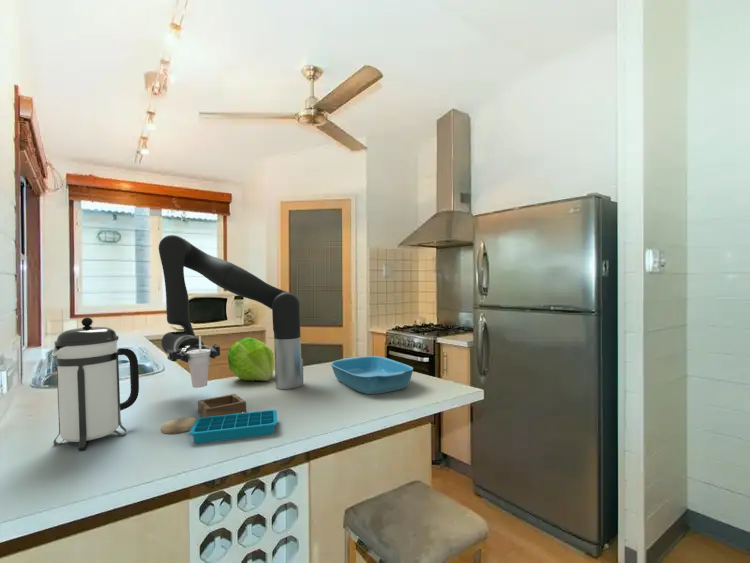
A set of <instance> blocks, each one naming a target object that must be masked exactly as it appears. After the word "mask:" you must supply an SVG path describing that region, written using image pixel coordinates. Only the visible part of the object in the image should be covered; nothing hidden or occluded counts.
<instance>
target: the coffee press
mask: <svg viewBox="0 0 750 563" xmlns="http://www.w3.org/2000/svg"><path fill="white" fill-rule="evenodd" d="M93 322H94V321H93V319H92V318H91V317H83V319H82V320H81V321H80V323H81V325H82V326H83V327H80V328H73V329H68V330H65V331H63V332H61V333H60V334H59V335H58V336H57V338H56V340H55V341H54V347H53V349H52V352H51V356H52V357H55V356H56V357H55V365H56V380H57V381H56V382H57V407H58V408H57V411H58V433H57V434H58V435H57V436H56V437H55V438H54V440H53V445H54V446H59V445H61V444H63V442H64V441H65V442H70V443H72V442H74V443H75V442H76V443H78V446H77V448H78V451H79V452H80V451H85V450H87V448H88V444H89V442H90V441H92V440H96V439H100V438H104V437H105V436H106V437H107V436H108V435H110V434H112V433H113V434H117V435H118V436H121V437H123V436H125V435H126V434H127V430H128V429H127V428H125V427H124V426H123V424H122V420H121V418H122V417H121V411H123V410H126V409H127V408H130V407H131V406H133V405H134V404H135V402H136V400H138V396H139V392H140V378H139V374H140V373H139V361H138V357H137V355H136V353H135V352H134V350H131V349H130V348H125V347H123V348H118V341H119V335H117V333H116V331H115V330H114V329H113V328H109V327H105V326H92V324H93ZM119 356H125V357H126V358H128V361H129V373H130V374H129V376H130V378H129V379H130V381H129V382H130V394H129V396H128V398H127V399H126V400H125V401H123V402H121V395H120V366H119V365H120V364H119ZM119 427H120V428H121V429H122V431H124V432H123V433H122V432H120V431H118V429H119ZM59 437H60V438H62V441H60V442H58V441H57V439H58V438H59Z"/></svg>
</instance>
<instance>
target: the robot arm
mask: <svg viewBox="0 0 750 563" xmlns="http://www.w3.org/2000/svg"><path fill="white" fill-rule="evenodd" d="M158 253H159V257H160V258H159V259H160V261H161V267H162V272H163V278H164V289H165V303H166V304H165V306H166V307H165V308H166V321H167V324H170V325H174V326H175V325H176V326H181V327H182V329H183V330H182V331H181V330H180V331H169V332H166V333H165V334H164V335H162V338H161V342H160V343H161V344H160V345H161V348H162V350H163V351H164V352H165V353H166V355H167V356H166V358H167V359H168V360H169V361H170V362H176V361H178V360H179V361H180V362H184V363H186V364H189V363H188V354H187V353H186V352H188V351H191V350H197V349H199V337H198V338H197V337H196V335H195V331H194V329H193V326H192V323H191V317H190V301H189V299H190V298H189V294H188V289H187V286H186V280H185V273H184V270H185V269H184V268H187V269H189V270H191V271H194V272H196V273H198V274H200V275H202V277H204V278H206V279H207V280H209V282H211V283H213V284H215V285H216V286H218V287H219V288H222V289H223V290H225V291H227V292H230V293H231V294H235V295H237V296H239V297H241V298H244V299H245V298H246V299H248V300H252V301H254V302H257V303H260V304H261V305H264V306H266V307H267V308H269V309H270V310H272V311H271V313H272V331H273V341H274V342H273V344H274V345H273V346H274V348H273V349H274V372H275V373H274V376H275V388H276V389H281V390H290V389H291V390H292V389H296V388H300V387H303V386H305V384H304V381H305V380H304V358H302V343H301V342H302V340H301V337H302V336H301V324H300V322H301V321H300V319H301V318H300V307H301V302H300V300H299V298H298V296H296V294H294V293H292V292H289V291H286V290H284V289H281V288H277V287H276V286H273V285H271V284H269V283H268V282H266V281H264V280H262V279H261V278H259V277H257V275H254V274H253V273H251V272H249V271H248V270H246V269H244V268H242V267H240V266H239V265H236V264H234V263H232V262H230V261H227V260H225V259H222V258H219V257H216V256H213V255H210V254H209V253H206V252H204V251H203V250H201V249H199V248H198V247H196V246H195V245H194V244H192V243H190V242H189V241H188V240H186V239H185V238H183V237H181V236H179V235H175V234H169V235H166V236H164V237H163V238H162V239H161V240H160V242H159V243H158ZM201 349H210V350H211V354H210V358H211V359H216V357H220V356H221V347H220V345H219V344H216V343H214V344H213V345H211V347H210V346H209V345H205V344H204V342H203V341H202V340H201Z"/></svg>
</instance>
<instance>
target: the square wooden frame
mask: <svg viewBox="0 0 750 563" xmlns="http://www.w3.org/2000/svg"><path fill="white" fill-rule="evenodd" d="M197 411H198V413H200V415H201V416H202V417H209V416H219V415H228V414H237V413H242V412H245V413H247V401H246V400H245V399H243V398H241V397H240V396H239V395H238V394H236V393H232V394H226V395H221V396H215V397H209V398H205V399H200V400H197Z"/></svg>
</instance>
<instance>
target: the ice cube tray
mask: <svg viewBox="0 0 750 563" xmlns="http://www.w3.org/2000/svg"><path fill="white" fill-rule="evenodd" d="M277 411H278V410H276V409H268V410H258V411H249V412H245V413H237V414H228V415H219V416H209V417H203V416H202V417H198V418H197V419H196V420H195V422H194V424H193V426H192V428H191V430H190V431H188V432H189V435H190V436H191V435H193V442H194V443H195V444H201V443H209V442H210V443H211V442H217V441H218V442H219V441H226V440H234V439H235V440H236V439H243V438H252V437H258V436H268V435H272V434H274V433H275V426H276V425H277V424H278V412H277Z"/></svg>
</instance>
